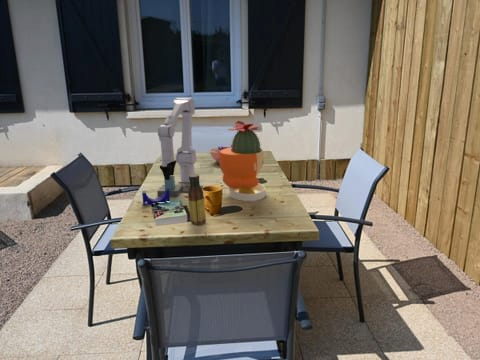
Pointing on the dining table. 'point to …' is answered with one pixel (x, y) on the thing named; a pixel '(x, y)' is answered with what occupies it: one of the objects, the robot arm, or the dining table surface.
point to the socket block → (170, 190)
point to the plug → (170, 183)
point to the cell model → (217, 152)
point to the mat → (188, 189)
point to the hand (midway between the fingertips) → (169, 177)
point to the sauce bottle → (196, 201)
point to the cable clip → (163, 198)
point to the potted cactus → (243, 164)
